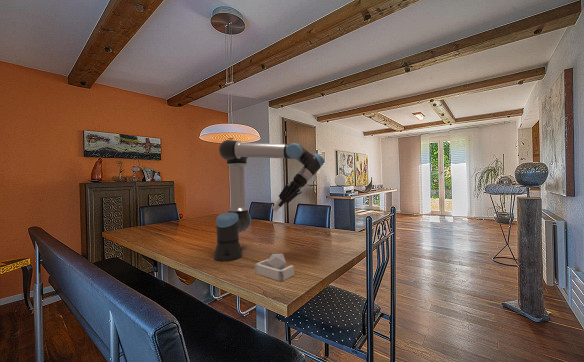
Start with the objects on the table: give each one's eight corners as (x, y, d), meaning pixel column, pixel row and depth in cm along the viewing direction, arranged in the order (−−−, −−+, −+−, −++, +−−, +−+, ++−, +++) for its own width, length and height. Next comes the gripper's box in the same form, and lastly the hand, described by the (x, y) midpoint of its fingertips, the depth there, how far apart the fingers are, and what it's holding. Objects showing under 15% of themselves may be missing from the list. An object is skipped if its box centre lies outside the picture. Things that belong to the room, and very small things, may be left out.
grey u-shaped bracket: (254, 272, 111) (254, 264, 111) (267, 267, 118) (267, 258, 118) (281, 281, 101) (281, 272, 101) (294, 274, 108) (293, 265, 108)
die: (278, 278, 106) (290, 258, 108) (261, 267, 108) (273, 248, 110) (280, 277, 114) (291, 259, 116) (265, 267, 116) (276, 249, 118)
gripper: (313, 185, 132) (284, 218, 127) (299, 178, 142) (272, 209, 138) (306, 176, 127) (276, 210, 123) (292, 170, 137) (264, 201, 133)
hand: (274, 209), depth 130 cm, fingers closed
